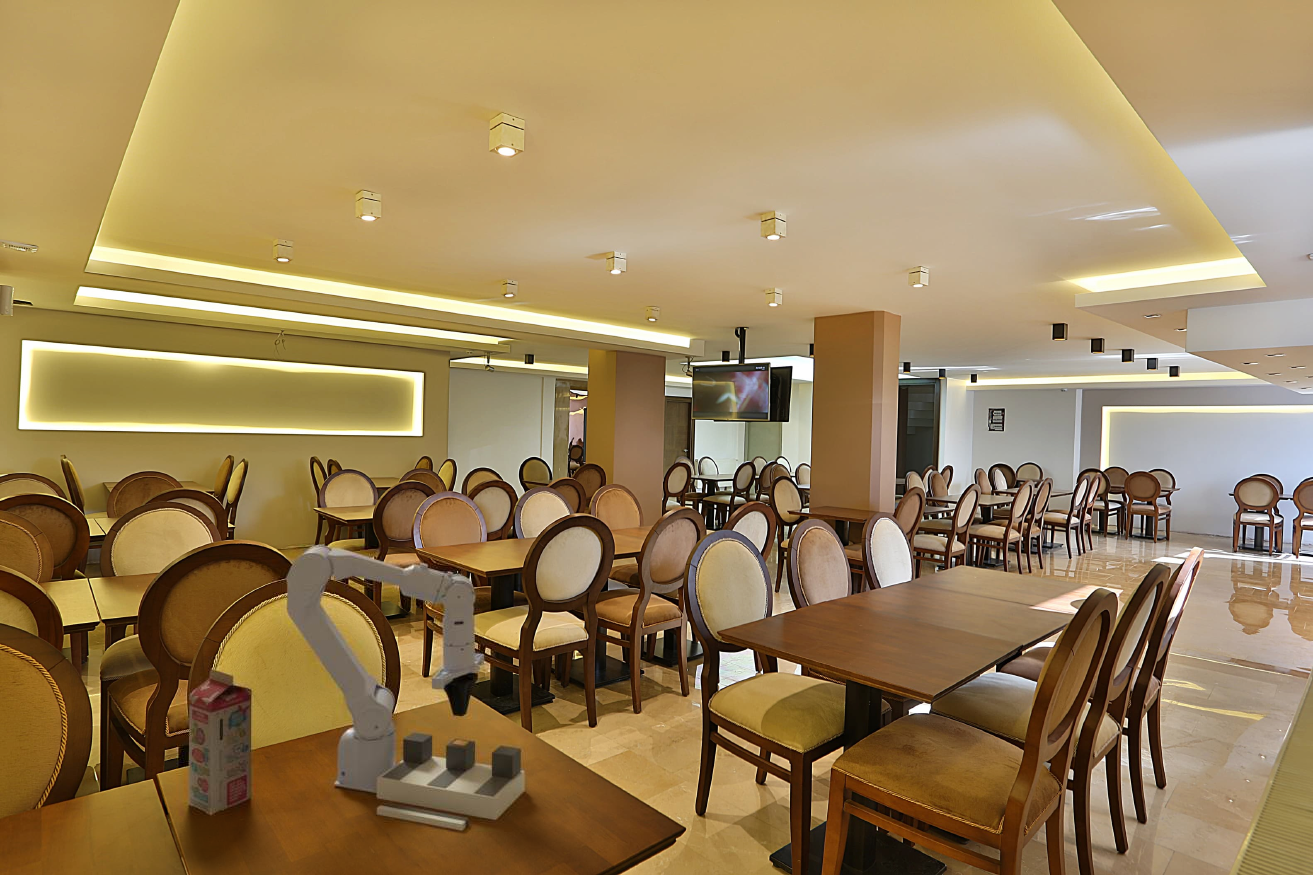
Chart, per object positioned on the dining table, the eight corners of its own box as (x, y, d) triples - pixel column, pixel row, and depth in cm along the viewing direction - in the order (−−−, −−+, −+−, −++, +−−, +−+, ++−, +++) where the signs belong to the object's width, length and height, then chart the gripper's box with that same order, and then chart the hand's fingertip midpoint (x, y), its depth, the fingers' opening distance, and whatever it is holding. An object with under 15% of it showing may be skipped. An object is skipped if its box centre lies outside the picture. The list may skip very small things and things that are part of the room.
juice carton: (228, 787, 126) (229, 663, 126) (250, 797, 122) (251, 669, 122) (188, 804, 120) (189, 674, 120) (210, 815, 117) (211, 681, 116)
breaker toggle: (445, 767, 126) (446, 744, 126) (455, 760, 129) (455, 737, 129) (465, 771, 125) (466, 747, 125) (474, 763, 128) (475, 740, 128)
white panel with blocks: (376, 797, 123) (377, 753, 123) (412, 771, 132) (412, 730, 132) (495, 819, 116) (496, 773, 116) (524, 790, 125) (524, 747, 125)
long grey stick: (376, 814, 117) (376, 807, 117) (384, 808, 119) (384, 802, 119) (462, 830, 113) (462, 824, 113) (468, 824, 115) (468, 817, 115)
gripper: (455, 655, 125) (456, 732, 125) (497, 632, 139) (498, 702, 139) (421, 652, 127) (422, 728, 127) (465, 630, 141) (466, 698, 141)
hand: (459, 714), depth 133 cm, fingers closed
